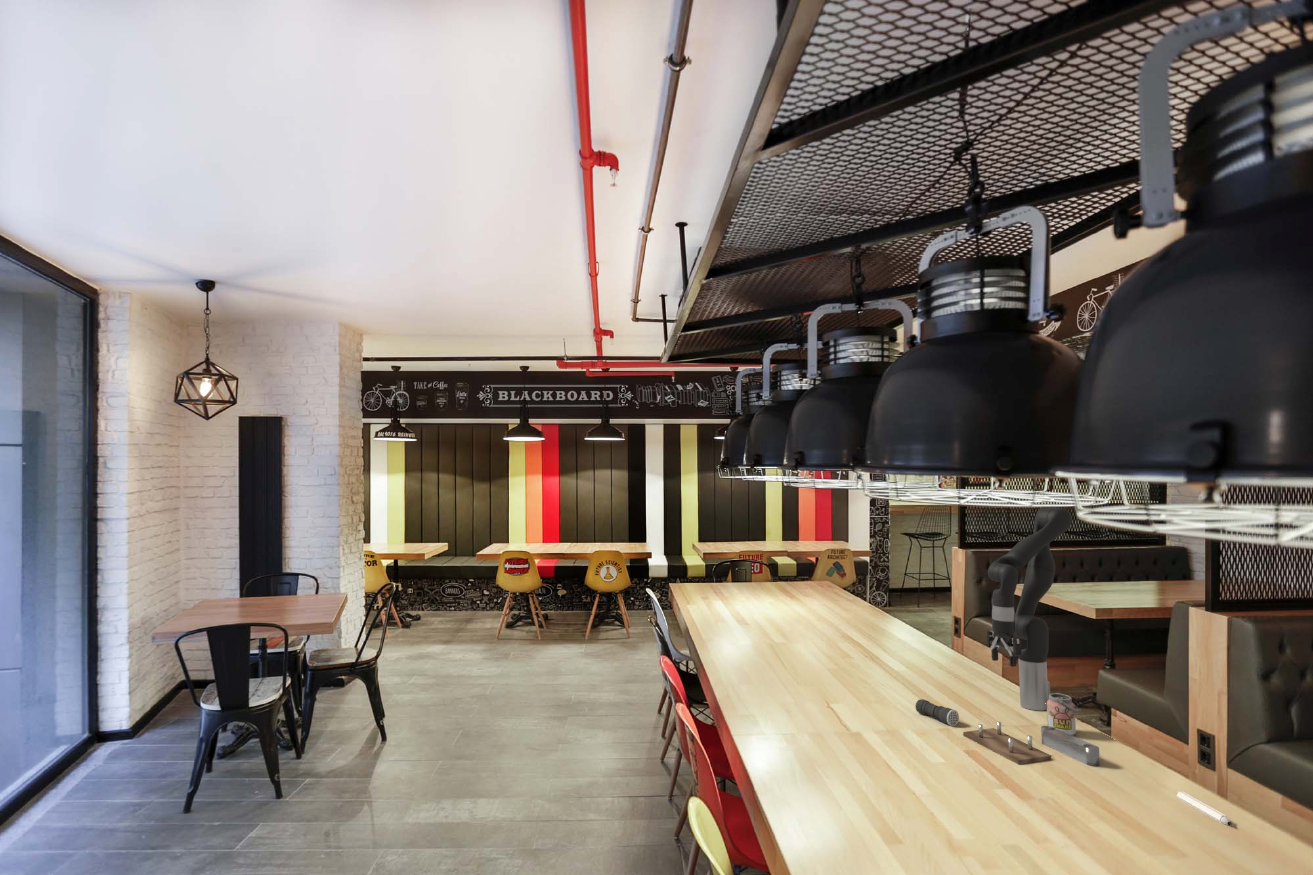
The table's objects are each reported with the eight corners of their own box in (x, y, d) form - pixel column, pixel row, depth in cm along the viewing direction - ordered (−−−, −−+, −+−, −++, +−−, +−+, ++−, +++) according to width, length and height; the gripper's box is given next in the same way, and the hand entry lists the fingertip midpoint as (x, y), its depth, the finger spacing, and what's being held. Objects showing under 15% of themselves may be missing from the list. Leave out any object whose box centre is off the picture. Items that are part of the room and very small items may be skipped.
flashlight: (914, 713, 253) (913, 698, 253) (925, 711, 255) (924, 696, 255) (948, 727, 239) (947, 711, 239) (959, 724, 241) (958, 708, 242)
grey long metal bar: (1048, 740, 225) (1048, 725, 226) (1103, 765, 206) (1102, 748, 206) (1038, 742, 224) (1038, 726, 225) (1092, 767, 205) (1091, 750, 205)
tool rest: (993, 731, 234) (992, 715, 234) (1051, 759, 211) (1050, 741, 211) (963, 735, 231) (962, 719, 231) (1018, 764, 208) (1017, 746, 208)
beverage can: (1078, 730, 234) (1076, 694, 234) (1081, 739, 226) (1079, 702, 227) (1046, 726, 238) (1045, 691, 238) (1049, 735, 230) (1047, 698, 231)
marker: (1233, 833, 169) (1180, 801, 185) (1240, 828, 169) (1186, 797, 185) (1228, 823, 169) (1175, 793, 185) (1235, 819, 169) (1181, 788, 185)
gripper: (1026, 621, 250) (1027, 667, 249) (997, 614, 263) (997, 657, 262) (1009, 622, 248) (1010, 669, 247) (980, 615, 261) (981, 658, 260)
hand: (1003, 663), depth 254 cm, fingers open, 8 cm apart
